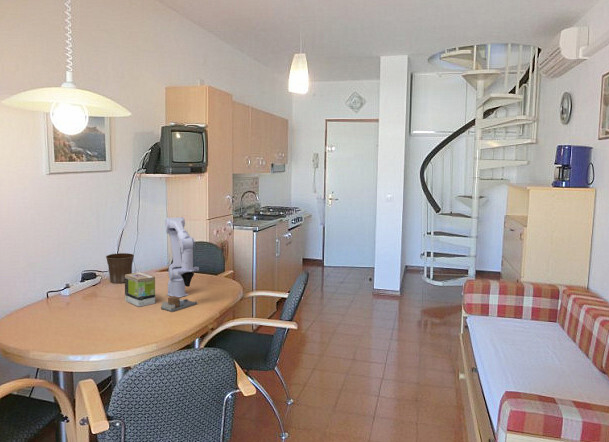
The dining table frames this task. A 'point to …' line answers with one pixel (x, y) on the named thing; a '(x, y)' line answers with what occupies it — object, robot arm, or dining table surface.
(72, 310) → the dining table surface
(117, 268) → the plant pot
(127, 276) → the tea box
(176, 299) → the block
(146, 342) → the dining table surface
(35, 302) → the dining table surface
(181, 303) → the block
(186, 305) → the vise
